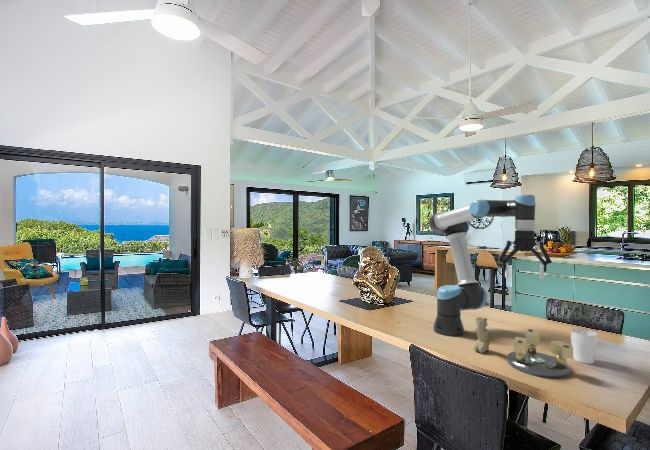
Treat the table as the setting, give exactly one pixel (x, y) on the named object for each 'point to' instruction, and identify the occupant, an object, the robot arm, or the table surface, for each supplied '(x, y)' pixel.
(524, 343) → the knob left
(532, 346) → the beige blocky piece
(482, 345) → the sculpture
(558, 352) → the knob right
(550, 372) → the plate
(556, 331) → the table surface
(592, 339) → the cup
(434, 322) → the robot arm
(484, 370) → the table surface
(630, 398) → the table surface
